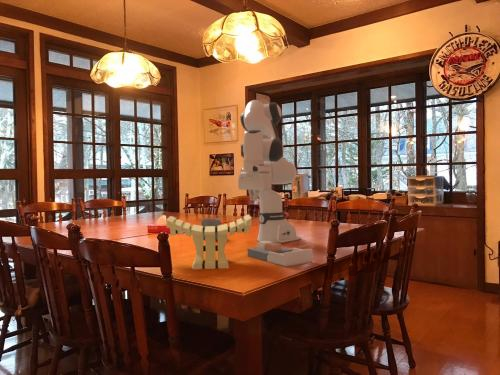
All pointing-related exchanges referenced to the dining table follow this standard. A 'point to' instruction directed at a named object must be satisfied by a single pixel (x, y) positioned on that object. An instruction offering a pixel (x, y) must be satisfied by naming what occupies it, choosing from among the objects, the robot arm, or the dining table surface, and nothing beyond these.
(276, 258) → the box
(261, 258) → the board
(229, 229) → the slatted curved stool
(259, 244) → the tile cream
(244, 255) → the dining table surface
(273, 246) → the tile terracotta
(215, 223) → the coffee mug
